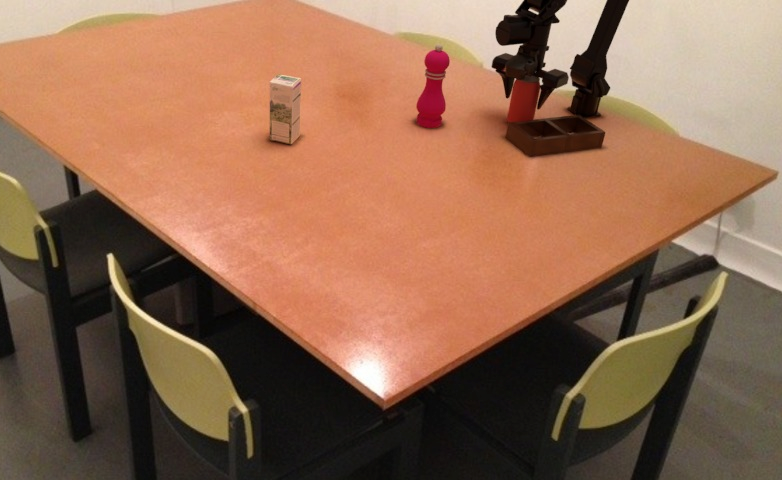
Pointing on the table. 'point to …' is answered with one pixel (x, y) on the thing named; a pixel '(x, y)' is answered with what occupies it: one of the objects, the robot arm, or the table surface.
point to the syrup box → (285, 108)
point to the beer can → (524, 99)
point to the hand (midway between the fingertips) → (522, 103)
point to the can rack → (554, 135)
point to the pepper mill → (433, 89)
